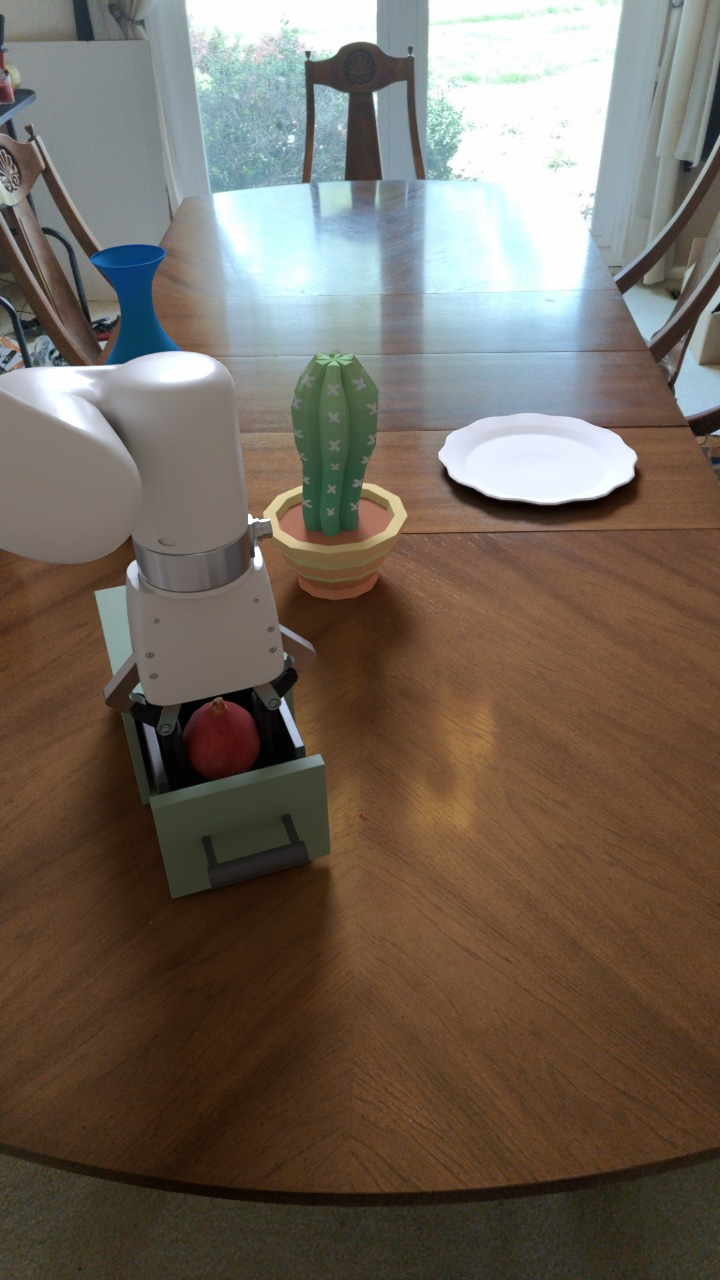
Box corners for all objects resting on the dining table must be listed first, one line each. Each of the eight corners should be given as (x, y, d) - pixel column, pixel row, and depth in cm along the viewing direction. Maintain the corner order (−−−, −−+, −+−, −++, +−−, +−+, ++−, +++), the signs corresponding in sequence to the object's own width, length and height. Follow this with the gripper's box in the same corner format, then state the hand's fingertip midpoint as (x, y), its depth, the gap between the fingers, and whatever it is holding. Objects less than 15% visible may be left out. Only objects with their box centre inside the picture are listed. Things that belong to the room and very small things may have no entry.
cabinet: (299, 765, 86) (290, 660, 79) (142, 805, 82) (118, 700, 75) (255, 659, 98) (244, 560, 90) (117, 691, 94) (94, 591, 87)
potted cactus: (433, 564, 110) (438, 348, 95) (355, 634, 100) (347, 405, 85) (322, 527, 117) (310, 320, 102) (239, 589, 107) (213, 369, 92)
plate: (418, 501, 122) (419, 487, 120) (462, 417, 140) (463, 404, 139) (625, 528, 115) (627, 514, 114) (642, 436, 134) (644, 423, 133)
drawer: (348, 897, 73) (344, 807, 67) (183, 946, 70) (162, 856, 64) (281, 734, 87) (273, 647, 81) (141, 769, 84) (122, 681, 78)
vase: (228, 462, 131) (202, 245, 114) (176, 505, 122) (140, 277, 105) (153, 446, 135) (117, 235, 118) (97, 487, 126) (50, 265, 109)
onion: (178, 797, 75) (162, 719, 70) (205, 745, 79) (192, 668, 74) (250, 809, 74) (240, 731, 69) (273, 756, 78) (265, 679, 73)
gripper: (305, 498, 69) (317, 694, 80) (53, 545, 64) (102, 745, 75) (337, 552, 63) (345, 755, 74) (64, 607, 59) (115, 813, 70)
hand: (222, 748), depth 75 cm, fingers closed on onion, 5 cm apart
